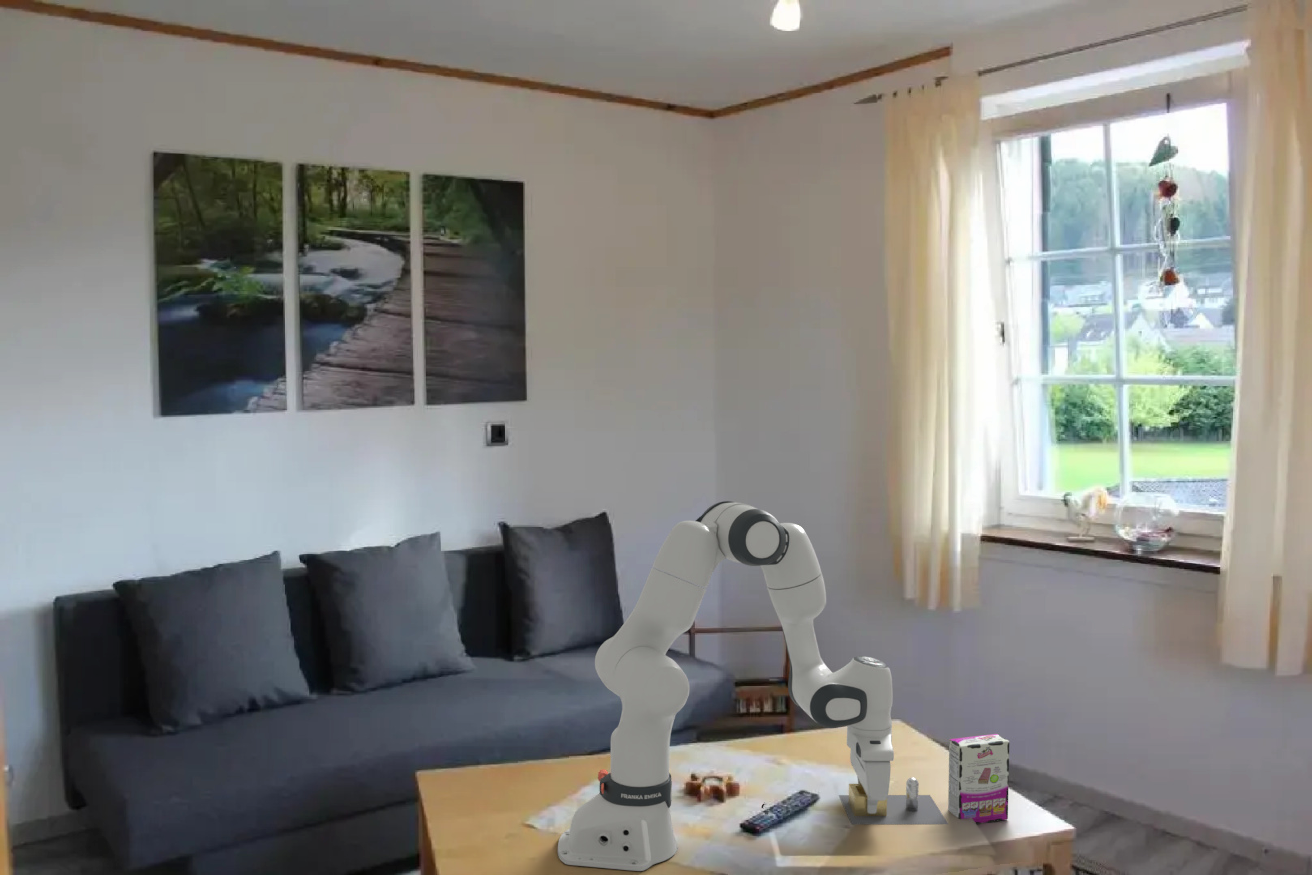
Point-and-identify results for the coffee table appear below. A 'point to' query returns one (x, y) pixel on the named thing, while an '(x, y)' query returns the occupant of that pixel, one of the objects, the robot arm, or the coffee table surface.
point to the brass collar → (863, 802)
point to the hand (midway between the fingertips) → (867, 803)
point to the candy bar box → (979, 778)
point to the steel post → (912, 794)
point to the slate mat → (900, 812)
